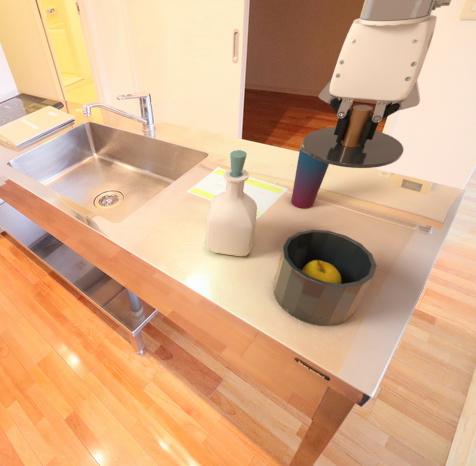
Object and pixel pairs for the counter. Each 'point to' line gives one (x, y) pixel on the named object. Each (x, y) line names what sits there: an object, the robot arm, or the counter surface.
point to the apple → (322, 271)
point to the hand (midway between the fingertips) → (351, 140)
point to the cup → (307, 180)
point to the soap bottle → (232, 213)
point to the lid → (353, 144)
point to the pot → (316, 291)
